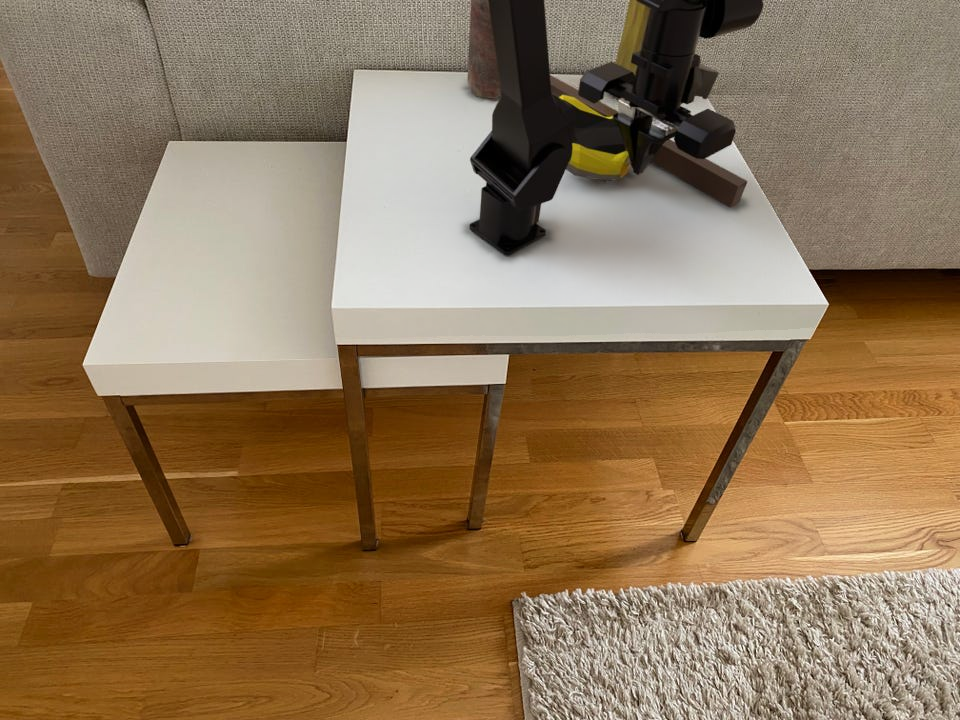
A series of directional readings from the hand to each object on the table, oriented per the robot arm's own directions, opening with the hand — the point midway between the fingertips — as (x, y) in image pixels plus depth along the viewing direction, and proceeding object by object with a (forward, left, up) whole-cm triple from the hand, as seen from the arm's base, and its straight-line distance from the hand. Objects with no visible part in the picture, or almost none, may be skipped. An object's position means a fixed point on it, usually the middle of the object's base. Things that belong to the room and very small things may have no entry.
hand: (638, 173), depth 87 cm
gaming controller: (0, +8, -2) cm, 8 cm away
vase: (+19, +17, -2) cm, 26 cm away
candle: (+3, +30, -2) cm, 30 cm away
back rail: (+7, +7, -2) cm, 10 cm away
